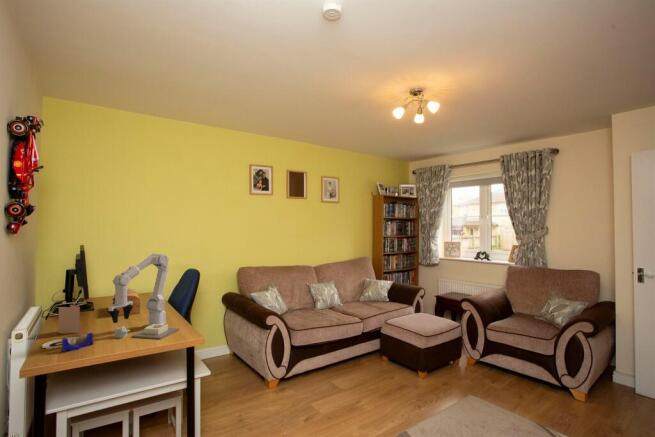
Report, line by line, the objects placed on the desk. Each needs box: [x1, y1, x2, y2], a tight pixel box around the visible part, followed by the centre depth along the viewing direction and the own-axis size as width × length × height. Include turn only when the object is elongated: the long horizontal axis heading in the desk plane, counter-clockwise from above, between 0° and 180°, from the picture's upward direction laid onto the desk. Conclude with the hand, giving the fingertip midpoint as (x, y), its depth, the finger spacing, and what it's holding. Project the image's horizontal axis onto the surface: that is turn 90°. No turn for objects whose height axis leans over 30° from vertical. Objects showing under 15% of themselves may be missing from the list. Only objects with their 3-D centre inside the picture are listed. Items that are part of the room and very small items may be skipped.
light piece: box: [41, 331, 91, 350], centre depth 174 cm, size 12×3×20 cm
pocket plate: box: [131, 324, 180, 340], centre depth 188 cm, size 16×18×4 cm
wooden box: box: [112, 287, 141, 317], centre depth 240 cm, size 30×16×14 cm, turn 33°
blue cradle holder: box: [61, 332, 94, 354], centre depth 166 cm, size 12×4×6 cm, turn 141°
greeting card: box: [58, 304, 81, 334], centre depth 191 cm, size 11×7×15 cm, turn 59°
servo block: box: [111, 325, 131, 339], centre depth 184 cm, size 3×9×6 cm, turn 79°
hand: (120, 320), depth 184 cm, fingers open, 7 cm apart
